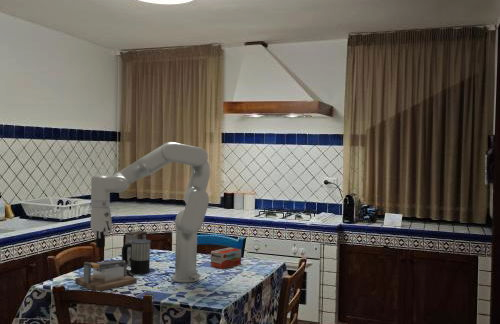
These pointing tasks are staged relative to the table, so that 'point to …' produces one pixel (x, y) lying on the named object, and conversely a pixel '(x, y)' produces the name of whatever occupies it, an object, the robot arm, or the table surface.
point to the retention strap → (107, 263)
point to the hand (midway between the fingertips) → (100, 247)
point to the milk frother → (138, 256)
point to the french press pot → (133, 236)
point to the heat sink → (105, 272)
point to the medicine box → (225, 258)
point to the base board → (105, 283)
